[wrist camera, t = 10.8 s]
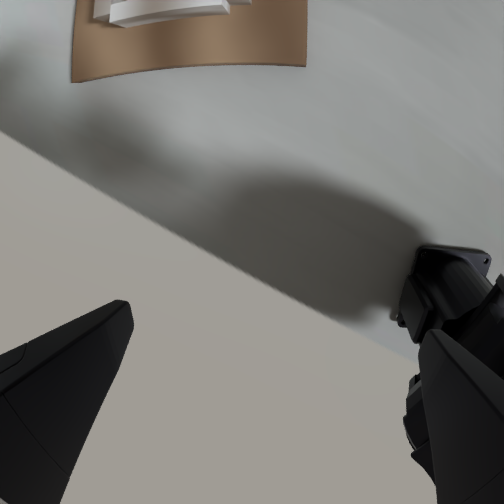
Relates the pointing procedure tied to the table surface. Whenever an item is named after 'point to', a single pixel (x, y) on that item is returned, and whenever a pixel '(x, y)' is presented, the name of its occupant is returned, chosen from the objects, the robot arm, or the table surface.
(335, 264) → the table surface
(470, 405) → the robot arm
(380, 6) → the table surface
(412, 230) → the table surface
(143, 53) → the wooden board with frame
